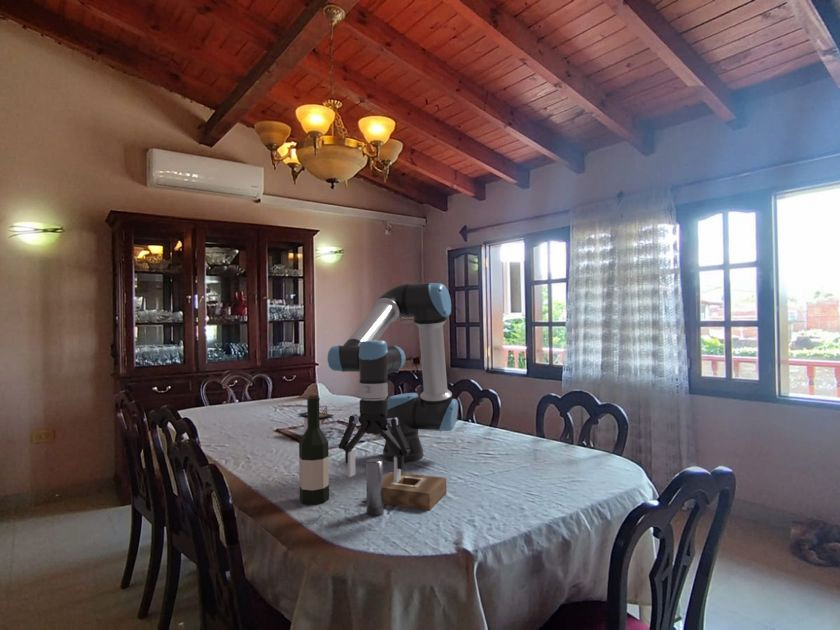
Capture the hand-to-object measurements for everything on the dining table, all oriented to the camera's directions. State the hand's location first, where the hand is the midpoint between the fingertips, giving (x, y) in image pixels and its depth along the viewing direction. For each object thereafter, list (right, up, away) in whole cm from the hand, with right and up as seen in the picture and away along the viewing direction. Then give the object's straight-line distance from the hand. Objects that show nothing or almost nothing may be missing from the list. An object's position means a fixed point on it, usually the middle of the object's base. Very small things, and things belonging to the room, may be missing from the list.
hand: (374, 478), depth 136 cm
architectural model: (-33, -11, +88) cm, 95 cm away
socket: (+9, -9, +12) cm, 18 cm away
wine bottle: (-18, -10, +11) cm, 23 cm away
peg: (0, -10, 0) cm, 10 cm away
